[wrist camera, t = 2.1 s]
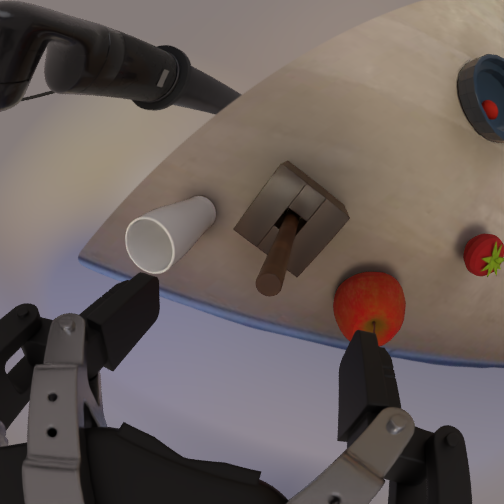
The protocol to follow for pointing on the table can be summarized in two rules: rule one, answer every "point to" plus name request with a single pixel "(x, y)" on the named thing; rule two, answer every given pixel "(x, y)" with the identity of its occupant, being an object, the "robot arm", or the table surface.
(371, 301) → the apple
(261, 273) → the stirring stick
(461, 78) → the bowl
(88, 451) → the robot arm
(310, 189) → the holder
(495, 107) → the ball
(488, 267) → the strawberry
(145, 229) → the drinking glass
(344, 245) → the table surface
